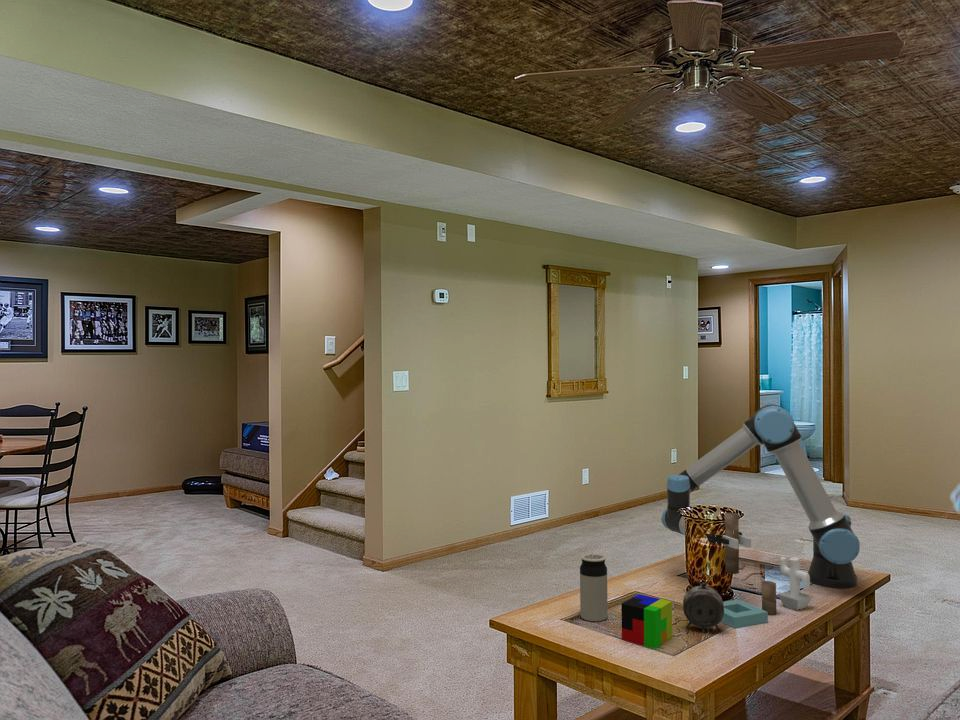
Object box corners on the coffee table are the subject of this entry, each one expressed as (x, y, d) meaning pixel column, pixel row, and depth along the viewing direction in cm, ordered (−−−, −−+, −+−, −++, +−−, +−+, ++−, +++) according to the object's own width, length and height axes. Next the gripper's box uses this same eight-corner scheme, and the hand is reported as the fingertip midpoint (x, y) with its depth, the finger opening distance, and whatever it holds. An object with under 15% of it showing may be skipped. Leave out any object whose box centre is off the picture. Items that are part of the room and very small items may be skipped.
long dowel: (733, 569, 228) (732, 512, 228) (741, 573, 225) (741, 514, 225) (722, 571, 227) (722, 513, 227) (731, 574, 223) (730, 515, 223)
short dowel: (769, 610, 221) (769, 580, 221) (779, 614, 217) (779, 584, 217) (759, 611, 220) (758, 581, 220) (768, 616, 216) (768, 585, 216)
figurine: (801, 613, 217) (801, 563, 217) (774, 604, 225) (773, 556, 225) (816, 609, 221) (815, 559, 221) (788, 600, 229) (788, 552, 229)
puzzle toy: (638, 629, 206) (638, 594, 206) (672, 637, 200) (671, 601, 200) (621, 640, 199) (621, 603, 199) (655, 649, 192) (655, 611, 192)
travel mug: (610, 621, 212) (609, 560, 212) (583, 622, 212) (582, 560, 212) (604, 612, 220) (603, 552, 220) (578, 613, 220) (577, 553, 220)
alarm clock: (723, 628, 206) (723, 571, 206) (724, 635, 201) (724, 576, 201) (683, 625, 209) (682, 568, 209) (683, 632, 204) (682, 574, 204)
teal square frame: (739, 609, 222) (739, 599, 222) (767, 622, 211) (767, 612, 211) (706, 614, 217) (706, 604, 217) (734, 628, 206) (734, 617, 206)
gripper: (717, 536, 246) (766, 553, 224) (674, 541, 240) (720, 559, 218) (717, 514, 246) (766, 529, 224) (674, 518, 240) (720, 534, 218)
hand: (743, 543), depth 221 cm, fingers closed on long dowel, 4 cm apart
